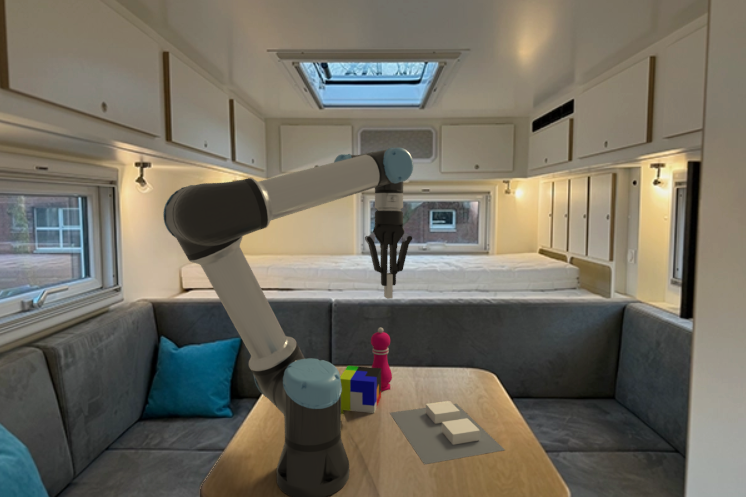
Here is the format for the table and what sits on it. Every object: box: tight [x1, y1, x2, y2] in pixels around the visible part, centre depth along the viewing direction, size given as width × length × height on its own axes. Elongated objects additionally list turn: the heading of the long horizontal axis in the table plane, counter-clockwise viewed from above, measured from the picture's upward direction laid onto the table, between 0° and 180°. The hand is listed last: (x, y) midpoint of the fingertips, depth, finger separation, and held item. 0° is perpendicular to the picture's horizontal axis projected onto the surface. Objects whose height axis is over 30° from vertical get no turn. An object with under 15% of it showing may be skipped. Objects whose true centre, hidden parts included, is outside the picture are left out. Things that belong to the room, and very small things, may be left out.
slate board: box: [389, 403, 506, 465], centre depth 104 cm, size 24×20×1 cm
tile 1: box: [425, 400, 460, 424], centre depth 111 cm, size 6×3×7 cm
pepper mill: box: [370, 327, 393, 392], centre depth 129 cm, size 7×7×20 cm
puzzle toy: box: [340, 365, 382, 415], centre depth 118 cm, size 10×10×10 cm
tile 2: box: [442, 418, 480, 445], centre depth 101 cm, size 6×3×7 cm
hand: (388, 297), depth 113 cm, fingers closed
